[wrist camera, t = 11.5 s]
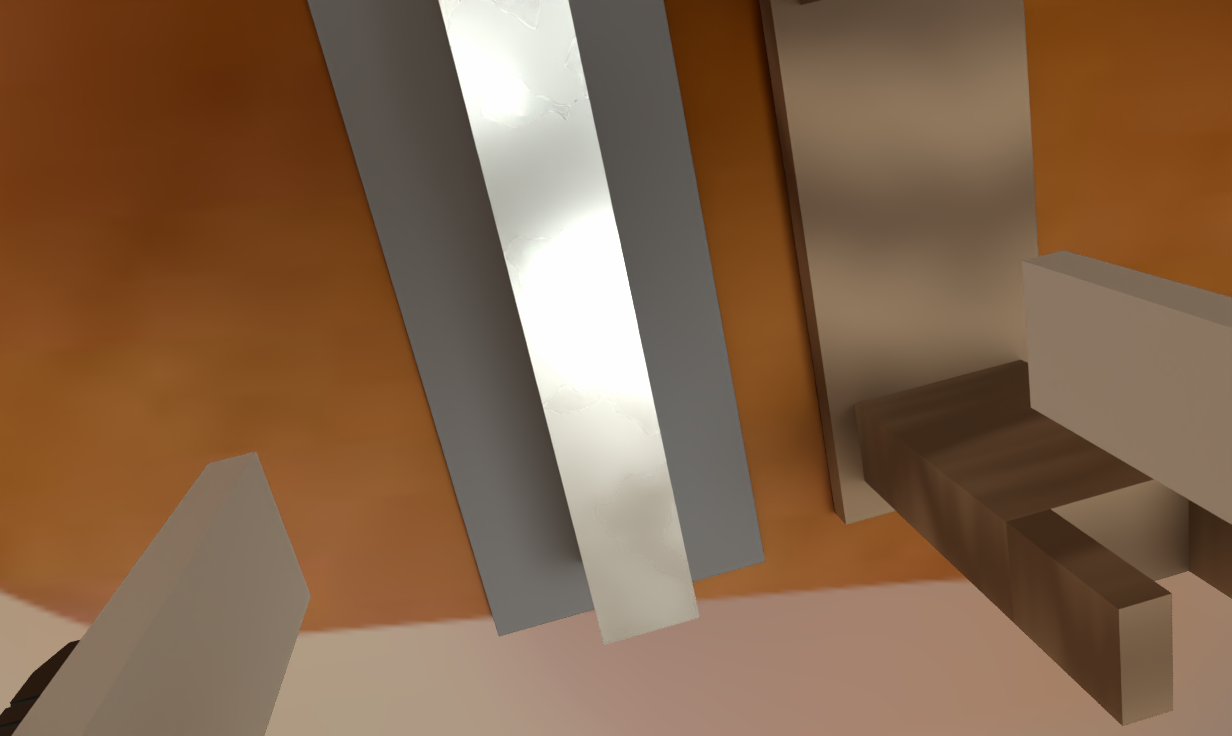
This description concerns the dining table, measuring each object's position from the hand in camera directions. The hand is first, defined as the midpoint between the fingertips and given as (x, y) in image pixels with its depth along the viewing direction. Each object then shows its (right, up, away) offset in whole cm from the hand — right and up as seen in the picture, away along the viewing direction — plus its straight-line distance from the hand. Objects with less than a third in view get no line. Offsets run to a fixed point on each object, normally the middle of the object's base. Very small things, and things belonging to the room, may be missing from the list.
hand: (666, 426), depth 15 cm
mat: (-3, +4, +14) cm, 14 cm away
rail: (-3, +4, +13) cm, 14 cm away
